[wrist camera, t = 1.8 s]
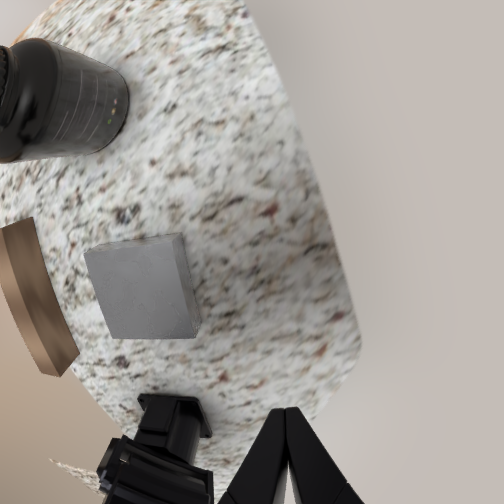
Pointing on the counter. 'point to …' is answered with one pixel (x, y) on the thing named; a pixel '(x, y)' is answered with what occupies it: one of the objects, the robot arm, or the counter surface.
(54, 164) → the counter surface
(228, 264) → the counter surface
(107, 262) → the grey metal plate
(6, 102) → the supplement bottle
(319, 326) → the counter surface
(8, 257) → the curved brown bar
